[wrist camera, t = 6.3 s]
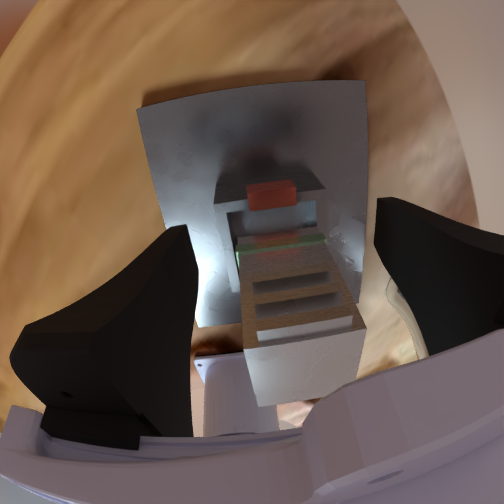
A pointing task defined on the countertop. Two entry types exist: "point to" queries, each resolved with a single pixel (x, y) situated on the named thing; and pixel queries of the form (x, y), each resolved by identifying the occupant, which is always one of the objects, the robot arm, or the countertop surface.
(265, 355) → the grooved grey block
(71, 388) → the robot arm
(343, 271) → the jack base
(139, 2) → the countertop surface
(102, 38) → the countertop surface
